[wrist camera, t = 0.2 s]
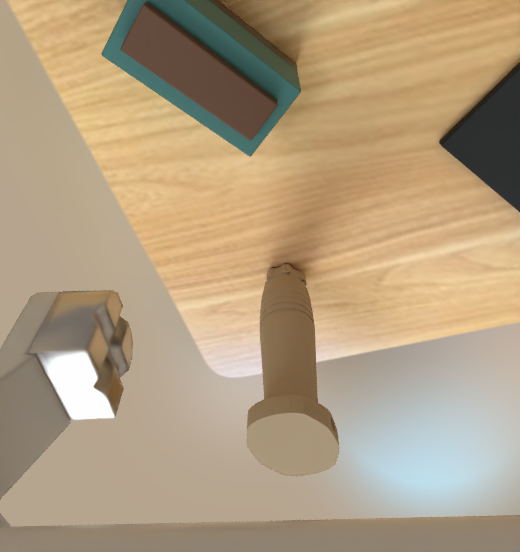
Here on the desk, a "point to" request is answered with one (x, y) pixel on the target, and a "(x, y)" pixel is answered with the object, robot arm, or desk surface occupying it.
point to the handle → (290, 384)
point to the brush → (206, 66)
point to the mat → (492, 139)
